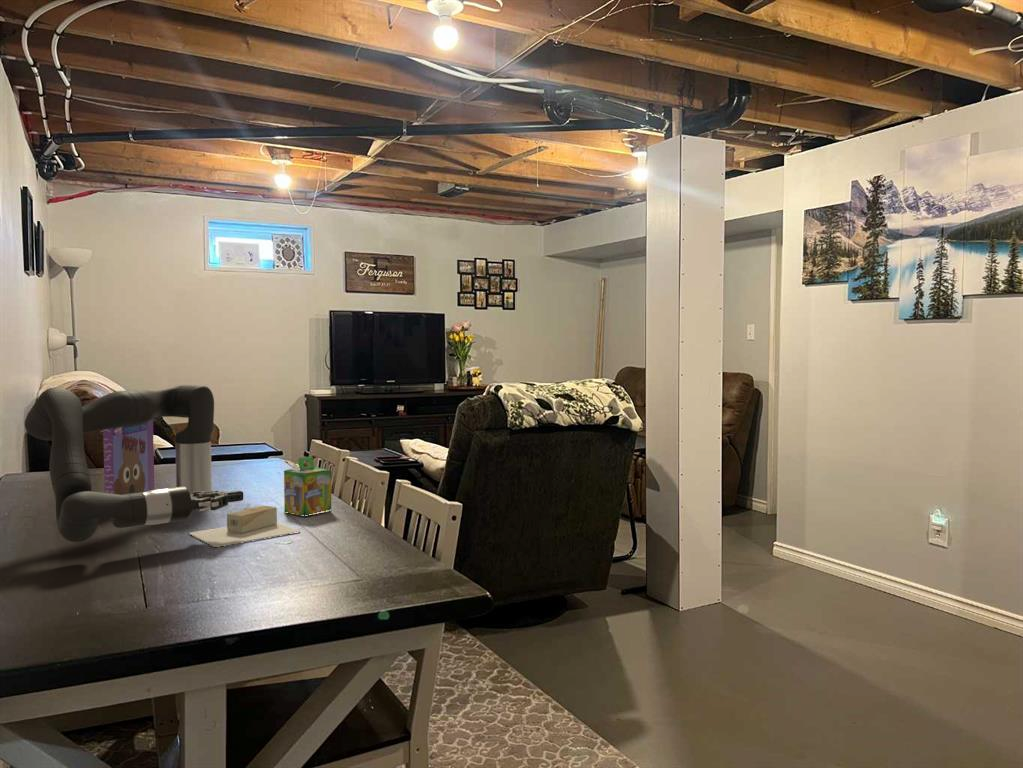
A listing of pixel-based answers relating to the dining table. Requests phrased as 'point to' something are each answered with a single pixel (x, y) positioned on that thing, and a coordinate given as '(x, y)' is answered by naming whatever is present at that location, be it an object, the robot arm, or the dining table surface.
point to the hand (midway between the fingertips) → (241, 495)
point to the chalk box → (307, 489)
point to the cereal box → (129, 459)
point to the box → (251, 519)
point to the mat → (240, 535)
